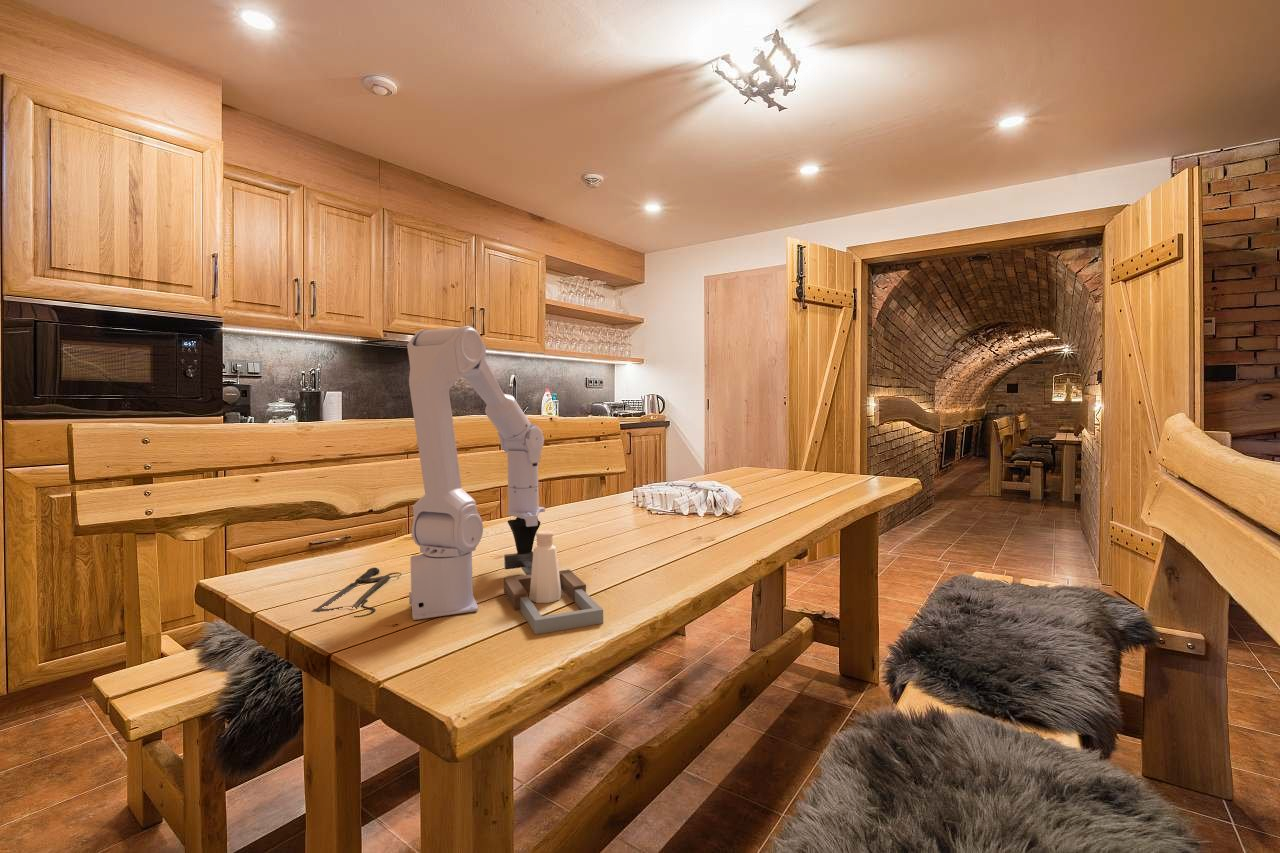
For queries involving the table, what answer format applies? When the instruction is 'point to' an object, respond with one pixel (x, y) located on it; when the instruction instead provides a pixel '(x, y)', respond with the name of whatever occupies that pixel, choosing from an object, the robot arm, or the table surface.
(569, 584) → the holder
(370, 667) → the table surface
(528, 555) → the release key
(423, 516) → the robot arm
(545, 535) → the pepper shaker
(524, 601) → the grey u-shaped frame
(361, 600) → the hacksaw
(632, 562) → the table surface
